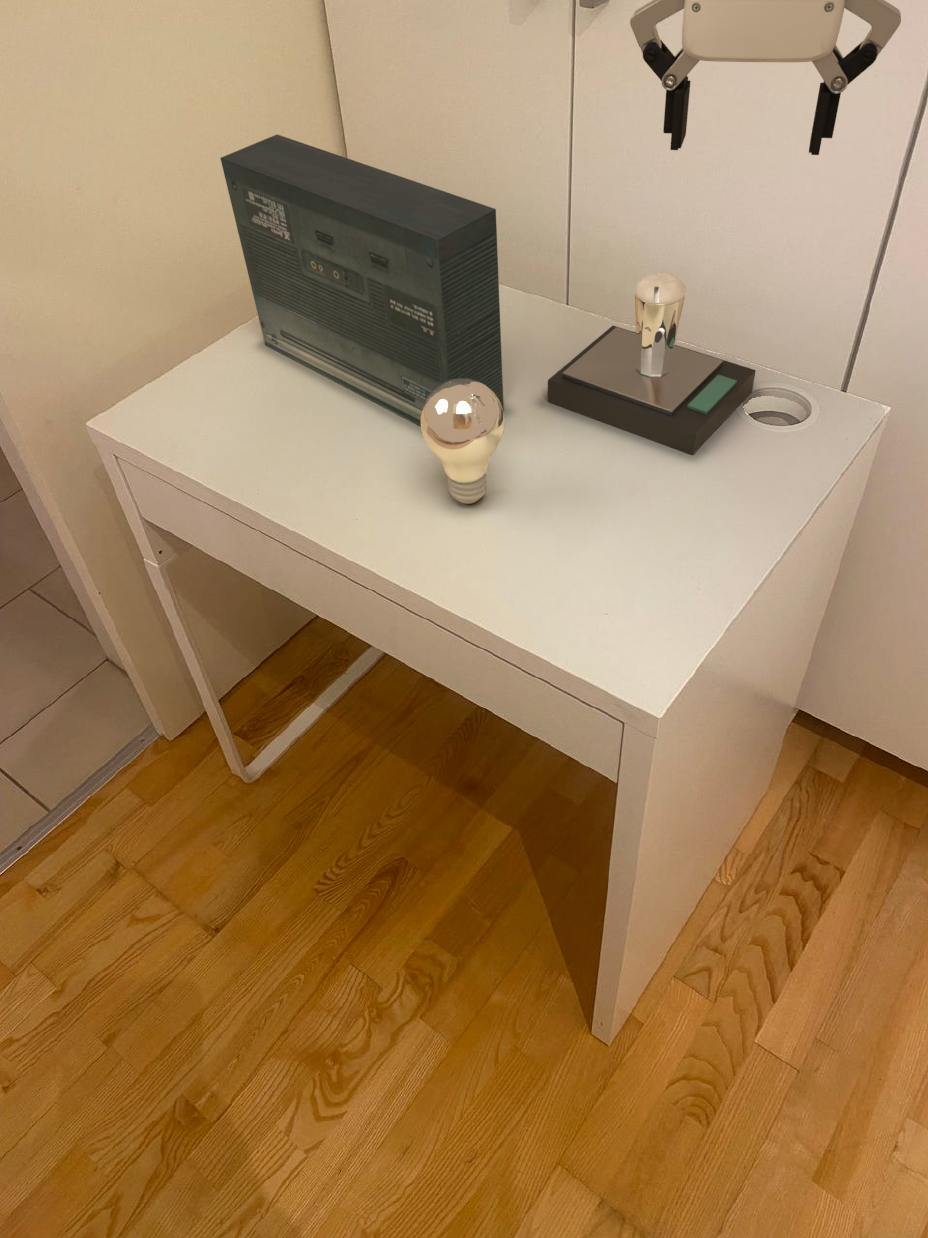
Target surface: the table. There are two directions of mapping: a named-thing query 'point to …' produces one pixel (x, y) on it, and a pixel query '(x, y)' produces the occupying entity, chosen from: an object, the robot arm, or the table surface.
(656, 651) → the table surface
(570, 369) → the scale
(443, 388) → the light bulb
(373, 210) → the cassette player
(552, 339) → the table surface
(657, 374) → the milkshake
